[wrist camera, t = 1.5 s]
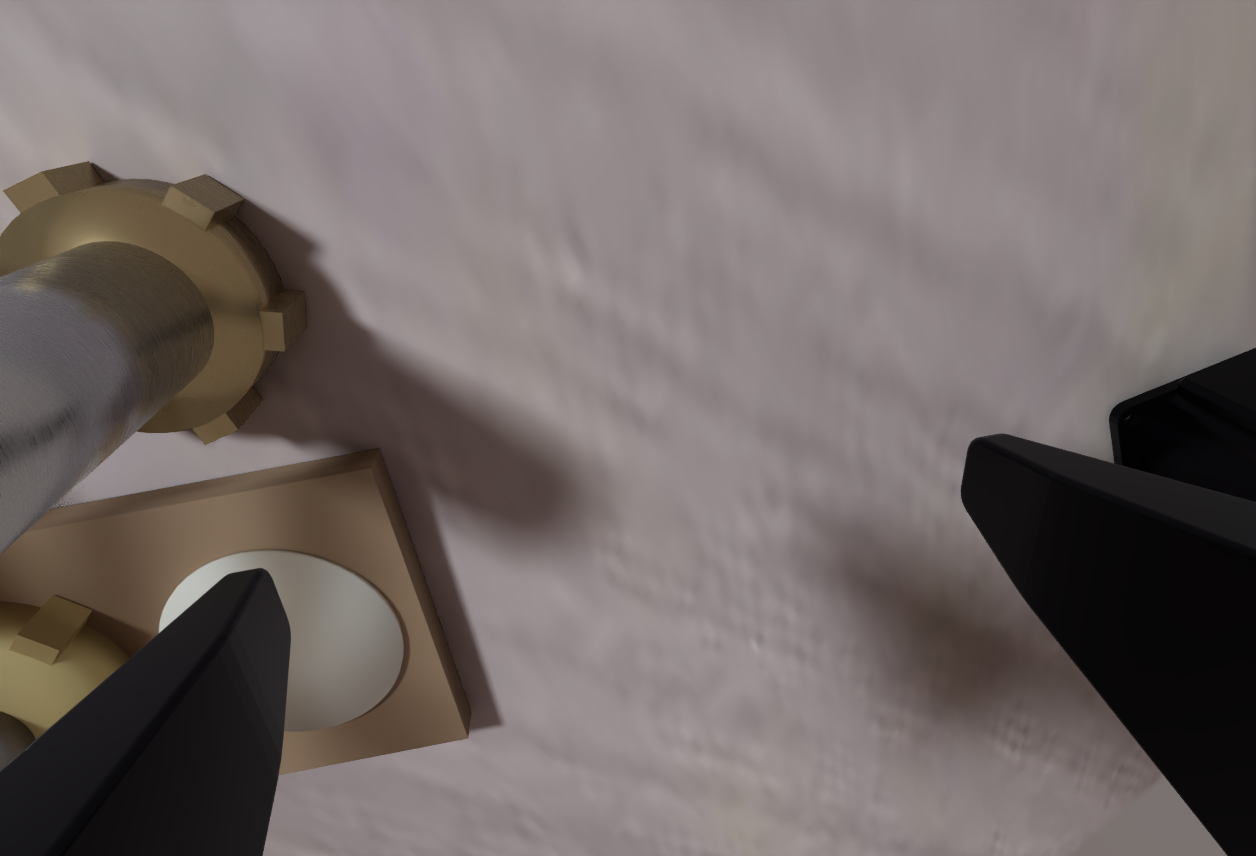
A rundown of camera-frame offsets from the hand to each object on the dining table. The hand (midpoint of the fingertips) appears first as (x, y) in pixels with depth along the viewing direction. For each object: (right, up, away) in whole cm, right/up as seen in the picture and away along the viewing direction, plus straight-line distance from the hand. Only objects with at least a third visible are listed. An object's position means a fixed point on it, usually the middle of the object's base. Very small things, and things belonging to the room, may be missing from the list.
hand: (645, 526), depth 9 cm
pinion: (-12, +5, +10) cm, 17 cm away
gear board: (-15, -6, +15) cm, 22 cm away
